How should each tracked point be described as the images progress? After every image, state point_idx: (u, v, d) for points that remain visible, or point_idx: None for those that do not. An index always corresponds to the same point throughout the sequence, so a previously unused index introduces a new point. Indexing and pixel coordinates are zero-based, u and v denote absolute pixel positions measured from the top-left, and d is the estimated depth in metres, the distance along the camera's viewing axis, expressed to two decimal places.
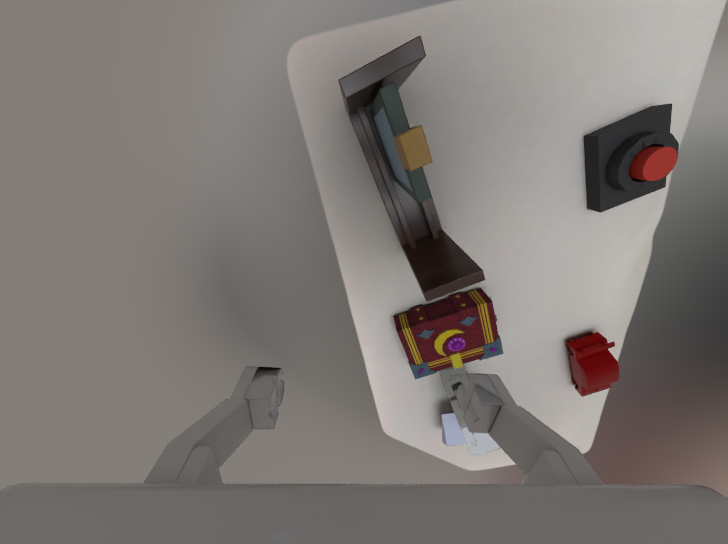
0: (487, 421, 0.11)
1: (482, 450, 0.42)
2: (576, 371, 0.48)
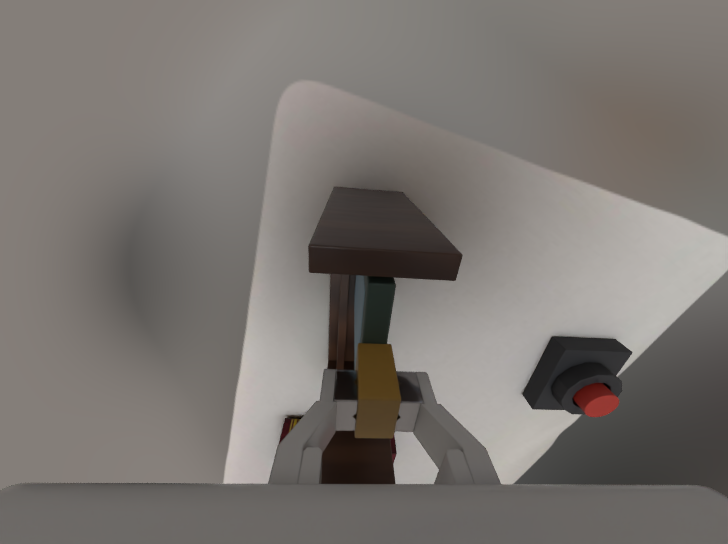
0: (410, 419, 0.10)
1: None
2: None
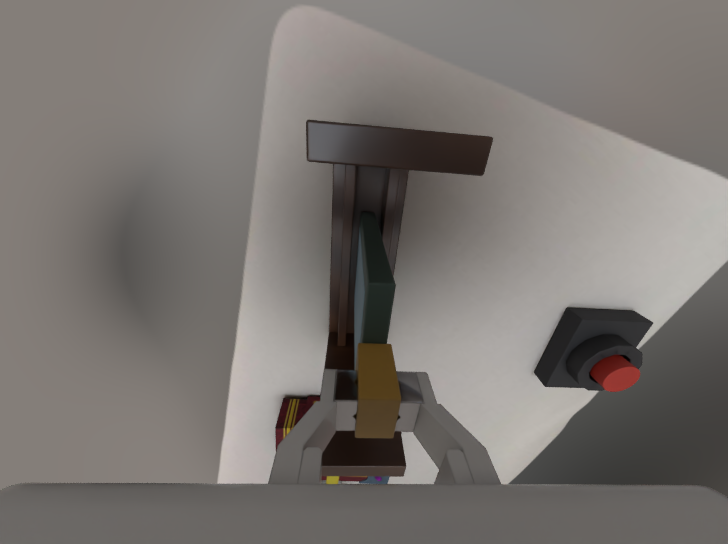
0: (409, 419, 0.10)
1: None
2: None
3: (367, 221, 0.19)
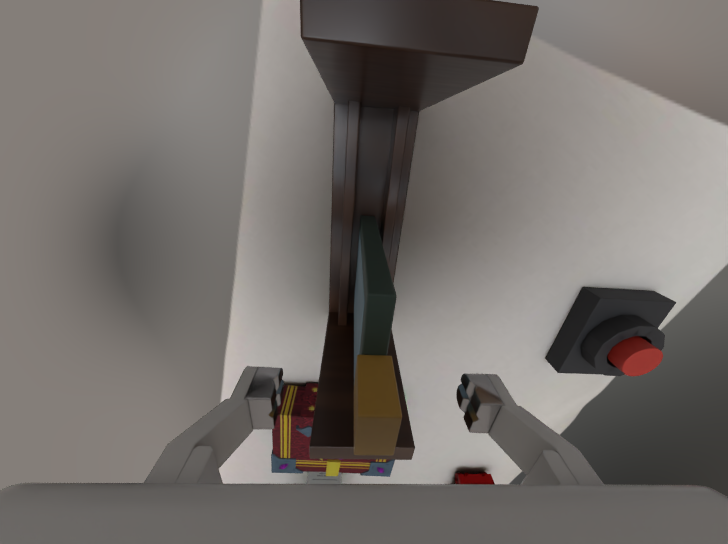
0: (487, 421, 0.11)
1: None
2: None
3: (367, 225, 0.19)
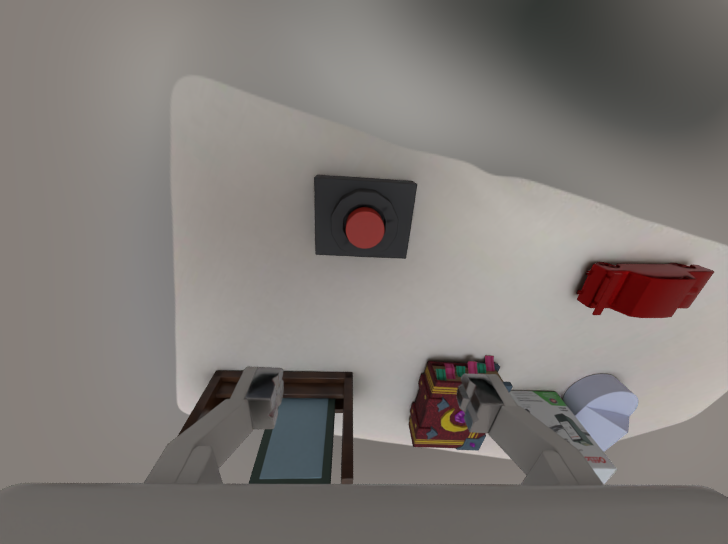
0: (487, 421, 0.11)
1: None
2: None
3: None
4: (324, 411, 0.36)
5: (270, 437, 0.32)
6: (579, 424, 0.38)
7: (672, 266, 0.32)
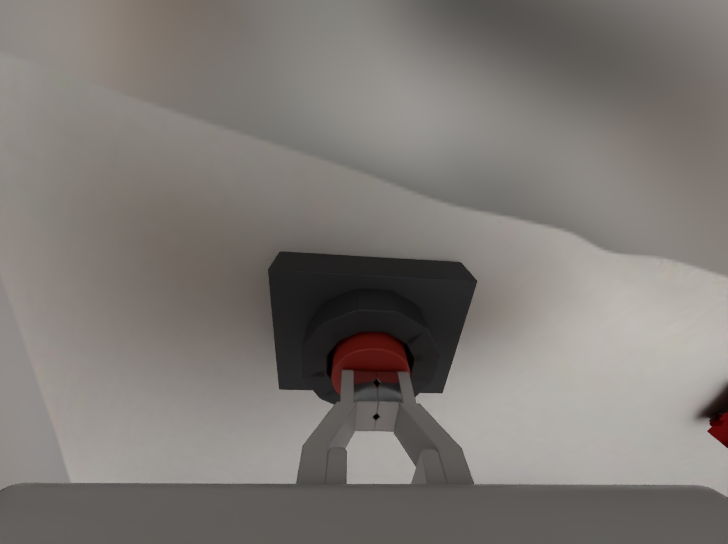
0: (389, 419, 0.10)
1: None
2: None
3: None
4: None
5: None
6: None
7: None
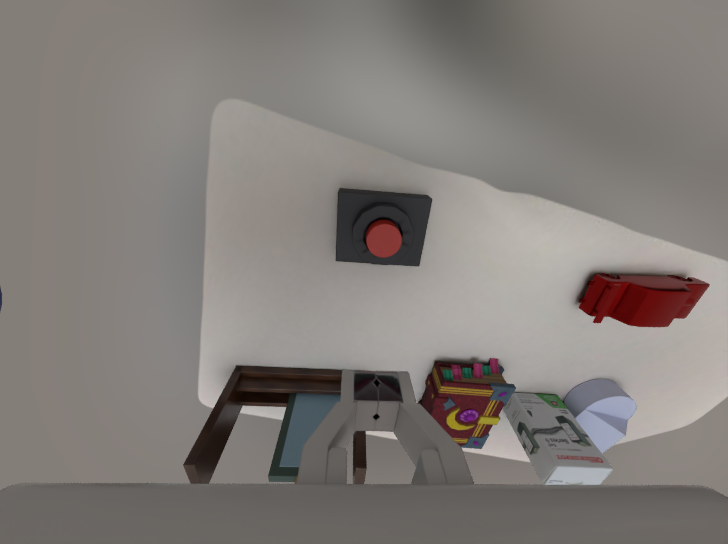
0: (389, 419, 0.10)
1: (597, 480, 0.36)
2: None
3: None
4: None
5: (288, 429, 0.35)
6: (578, 426, 0.40)
7: (670, 278, 0.34)
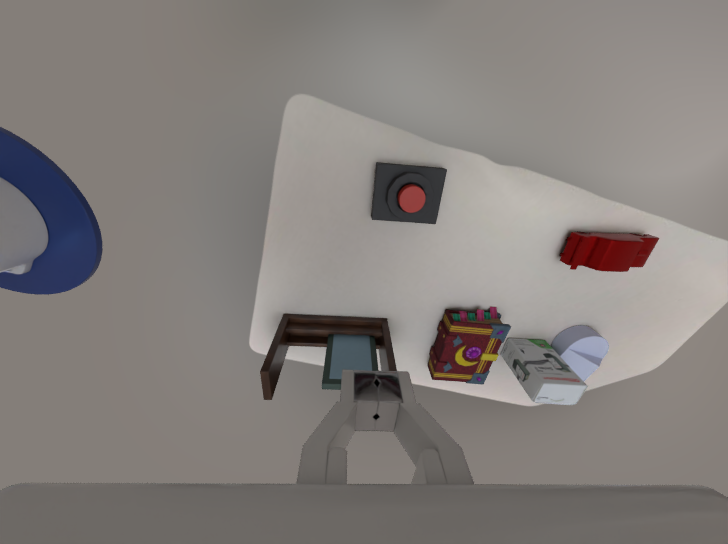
0: (389, 419, 0.10)
1: (575, 397, 0.46)
2: None
3: None
4: (367, 344, 0.48)
5: (331, 357, 0.44)
6: (561, 360, 0.50)
7: (629, 234, 0.43)
